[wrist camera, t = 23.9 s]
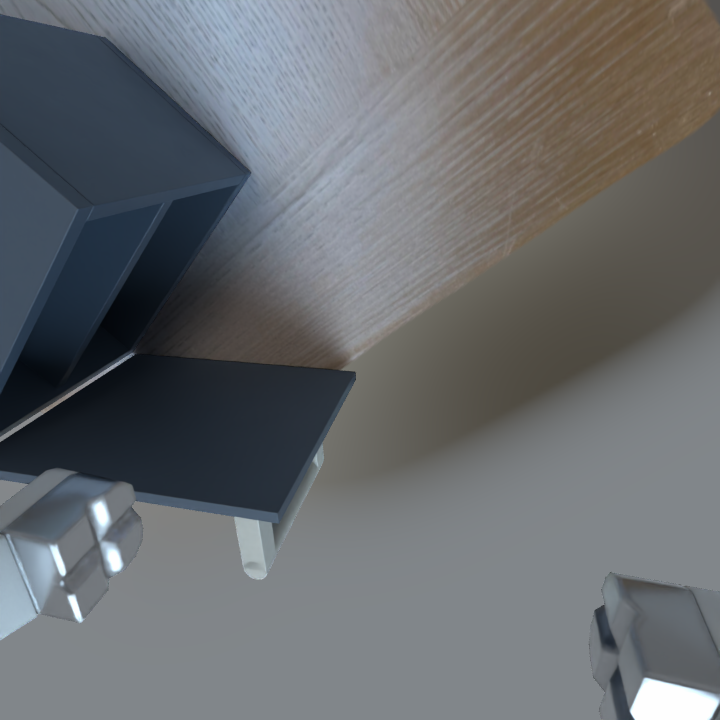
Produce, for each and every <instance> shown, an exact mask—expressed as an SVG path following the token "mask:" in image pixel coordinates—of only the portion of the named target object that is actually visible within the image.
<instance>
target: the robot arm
mask: <svg viewBox="0 0 720 720" xmlns="http://www.w3.org/2000/svg"><path fill="white" fill-rule="evenodd" d="M135 500H136V496H135V493H134V490H133V486H132V485H131V484H128V483H126V482H123V481H118V480H114V479H109V478H105V477H100V476H95V475H91V474H86V473H82V472H75V471H70V470H66V469H61V468H54V469H50V470H47V471H45V472H44V473H42V474H41V475H40V476H38V477H37V478H36V479H35V480H33V481H32V482H31V483H29V484H28V485H27V486H25V487H24V488H23V489H22V490H20V491H19V492H18V493H17V494H15V495H14V496H12V497H11V498H10V499H9V500H7V501H6V502H5V503H3V504H2V505H1V506H0V640H1V639H3V638H4V637H6V636H7V635H9V634H11V633H12V632H14V631H15V630H17V629H19V628H20V627H22V626H23V625H25V624H26V623H28V622H30V621H31V620H33V619H34V618H36V617H37V614H42V615H47V616H51V617H55V618H59V619H64V620H68V621H73V622H77V623H81V622H82V621H83V620H84V619H85V618H86V616H87V615H88V614H89V613H90V612H91V611H92V609H93V608H94V607H95V606H96V604H97V603H98V602H99V601H100V600H101V598H102V597H103V596H104V595H105V594H106V592H107V591H108V585H109V578H110V577H112V576H114V575H116V574H118V573H120V572H122V571H124V570H125V569H126V568H127V567H128V565H129V564H130V563H131V561H132V560H133V559H134V558H135V557H136V554H137V552H138V549H139V547H140V545H141V542H142V536H143V525H142V521H141V517H140V516H139V515H138V514H137V513H136V512H135V511H134V509H133V508H132V505H133V504H134V502H135ZM601 590H602V595H603V599H604V604H605V605H603V606H601V607H599V608H598V609H596V610H595V611H594V615H593V619H592V622H591V626H590V639H589V649H590V661H591V667H592V673H593V678H594V679H595V680H596V681H597V683H598V684H599V685H600V686H601V688H602V689H603V690H604V692H605V694H604V697H603V699H602V702H601V705H600V708H599V712H600V716H601V720H720V592H719V591H713V590H707V589H702V588H696V587H690V586H682V585H679V584H674V583H668V582H662V581H657V580H651V579H645V578H639V577H634V576H628V575H623V574H617V573H612V572H610V573H609V574H608V576H607V577H606V578H605V581H604V584H603V587H602V589H601Z"/></svg>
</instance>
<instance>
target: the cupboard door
mask: <svg viewBox="0 0 720 720" xmlns="http://www.w3.org/2000/svg"><path fill="white" fill-rule="evenodd" d="M355 380H356V373H355V372H351V371H339V370H327V369H314V368H302V367H289V366H277V365H264V364H252V363H240V362H227V361H215V360H202V359H190V358H178V357H165V356H153V355H140V354H135V355H134V356H132V357H131V358H129V359H128V360H126V361H125V362H123V363H121V364H120V365H118V366H117V367H115V368H114V369H112V370H111V371H109V372H108V373H106V374H105V375H103V376H101V377H100V378H98V379H97V380H95V381H94V382H92V383H91V384H89V385H88V386H86V387H85V388H83V389H81V390H80V391H78V392H77V393H75V394H74V395H72V396H71V397H69V398H68V399H66V400H65V401H63V402H61V403H60V404H58V405H57V406H55V407H54V408H52V409H51V410H49V411H48V412H46V413H44V414H43V415H41V416H40V417H38V418H37V419H35V420H34V421H32V422H31V423H29V424H28V425H26V426H25V427H23V428H22V429H20V430H18V431H17V432H15V433H14V434H12V435H11V436H9V437H8V438H6V439H4V440H3V441H1V442H0V480H6V481H13V482H19V483H25V484H29V483H31V482H32V481H33V480H35V479H36V478H37V477H38V476H40V475H41V474H42V473H44V472H45V471H47V470H50V469H54V468H61V469H66V470H70V471H75V472H82V473H86V474H91V475H95V476H100V477H105V478H109V479H114V480H118V481H123V482H126V483H128V484H131V485H132V486H133V490H134V493H135V496H136V500H135V501H139V502H145V503H152V504H158V505H164V506H171V507H177V508H184V509H189V510H196V511H202V512H208V513H214V514H221V515H227V516H233V517H234V520H235V525H236V531H237V536H238V542H239V547H240V553H241V558H242V563H243V569H244V571H245V573H246V574H247V575H248V576H250V577H251V578H254V579H258V580H260V579H263V578H265V577H266V575H267V573H268V571H269V569H270V567H271V565H272V563H273V561H274V559H275V557H276V555H277V553H278V551H279V549H280V547H281V545H282V543H283V541H284V539H285V537H286V535H287V533H288V531H289V529H290V527H291V525H292V523H293V521H294V519H295V517H296V515H297V513H298V511H299V509H300V507H301V505H302V503H303V501H304V499H305V497H306V495H307V493H308V491H309V489H310V487H311V485H312V483H313V481H314V479H315V477H316V475H317V473H318V471H319V469H320V467H321V465H322V463H323V461H324V456H323V444H322V442H323V440H324V438H325V437H326V435H327V433H328V431H329V429H330V427H331V425H332V423H333V421H334V420H335V418H336V416H337V414H338V412H339V410H340V408H341V406H342V405H343V402H344V401H345V399H346V397H347V395H348V393H349V391H350V390H351V388H352V386H353V384H354V382H355Z"/></svg>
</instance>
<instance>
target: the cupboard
mask: <svg viewBox="0 0 720 720" xmlns="http://www.w3.org/2000/svg"><path fill="white" fill-rule="evenodd" d="M250 174H251V172H250V171H249V170H248V169H246V168H245V167H244V166H243V165H242V164H241V163H240V162H239V161H238V160H237V159H236V158H235V157H234V156H232V155H231V154H230V153H229V152H228V151H227V150H226V149H225V148H224V147H223V146H222V145H221V144H220V143H218V142H217V141H216V140H215V139H214V138H213V137H212V136H211V135H210V134H209V133H208V132H207V131H206V130H204V129H203V128H202V127H201V126H200V125H199V124H198V123H197V122H196V121H195V120H194V119H193V118H191V117H190V116H189V115H188V114H187V113H186V112H185V111H184V110H183V109H182V108H181V107H180V106H179V105H177V104H176V103H175V102H174V101H173V100H172V99H171V98H170V97H169V96H168V95H167V94H166V93H165V92H163V91H162V90H161V89H160V88H159V87H158V86H157V85H156V84H155V83H154V82H153V81H152V80H151V79H149V78H148V77H147V76H146V75H145V74H144V73H143V72H142V71H141V70H140V69H139V68H138V67H137V66H135V65H134V64H133V63H132V62H131V61H130V60H129V59H128V58H127V57H126V56H125V55H124V54H122V53H121V52H120V51H119V50H118V49H117V48H116V47H115V46H114V45H113V44H112V43H111V42H110V41H108V40H107V39H106V38H105V37H101V36H96V35H92V34H87V33H83V32H78V31H74V30H69V29H65V28H60V27H56V26H51V25H47V24H42V23H38V22H33V21H28V20H24V19H19V18H15V17H10V16H6V15H1V14H0V436H2V435H4V434H5V433H7V432H8V431H10V430H11V429H13V428H14V427H16V426H18V425H19V424H21V423H22V422H24V421H25V420H27V419H29V418H30V417H32V416H33V415H35V414H37V413H38V412H40V411H41V410H43V409H44V408H46V407H48V406H49V405H51V404H52V403H54V402H55V401H57V400H59V399H60V398H62V397H63V396H65V395H66V394H68V393H69V392H71V391H73V390H74V389H76V388H77V387H79V386H80V385H82V384H84V383H85V382H87V381H88V380H90V379H91V378H93V377H95V376H96V375H98V374H99V373H101V372H102V371H104V370H106V369H107V368H109V367H110V366H112V365H113V364H115V363H117V362H118V361H120V360H121V359H123V358H124V357H126V356H127V355H129V354H131V353H132V352H133V351H134V349H135V348H136V346H137V344H138V343H139V341H140V340H141V338H142V337H143V335H144V334H145V332H146V331H147V329H148V328H149V326H150V325H151V323H152V322H153V320H154V319H155V317H156V316H157V314H158V313H159V311H160V310H161V308H162V307H163V305H164V304H165V302H166V301H167V299H168V298H169V296H170V295H171V293H172V292H173V290H174V289H175V287H176V286H177V284H178V283H179V281H180V280H181V278H182V277H183V275H184V274H185V272H186V271H187V269H188V268H189V266H190V265H191V263H192V262H193V260H194V259H195V257H196V256H197V254H198V253H199V251H200V250H201V248H202V247H203V245H204V244H205V242H206V241H207V239H208V238H209V236H210V235H211V233H212V232H213V230H214V229H215V227H216V226H217V224H218V223H219V221H220V220H221V218H222V217H223V215H224V214H225V212H226V211H227V209H228V208H229V206H230V205H231V203H232V201H233V200H234V198H235V197H236V195H237V194H238V192H239V191H240V189H241V188H242V186H243V185H244V183H245V182H246V180H247V179H248V177H249V176H250Z"/></svg>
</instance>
